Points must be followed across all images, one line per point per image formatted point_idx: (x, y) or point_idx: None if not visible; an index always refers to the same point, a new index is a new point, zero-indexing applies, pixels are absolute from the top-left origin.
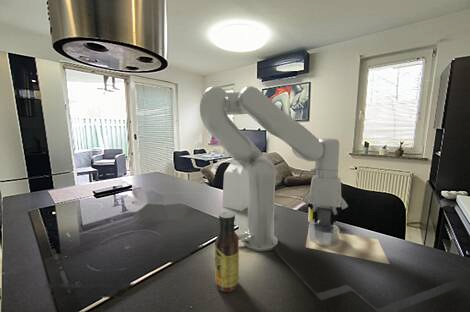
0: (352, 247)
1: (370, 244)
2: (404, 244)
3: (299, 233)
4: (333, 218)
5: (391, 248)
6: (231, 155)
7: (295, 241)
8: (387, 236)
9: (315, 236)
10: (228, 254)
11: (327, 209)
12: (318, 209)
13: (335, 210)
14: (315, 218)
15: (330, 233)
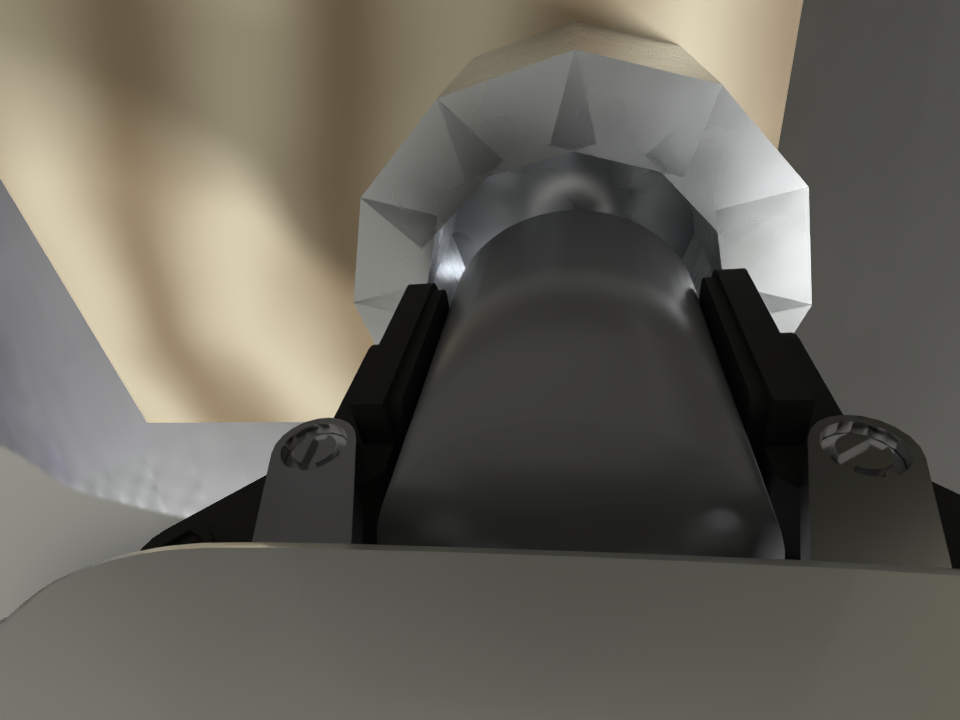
0: (264, 180)
1: (156, 315)
2: (28, 438)
3: (842, 303)
4: (379, 351)
5: (61, 354)
6: None
7: (936, 64)
8: (142, 502)
9: (686, 59)
10: None
11: (485, 511)
12: (741, 465)
13: (283, 498)
14: (747, 308)
15: (446, 91)
